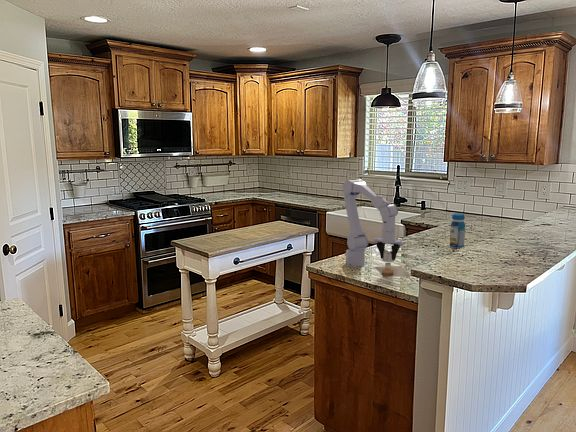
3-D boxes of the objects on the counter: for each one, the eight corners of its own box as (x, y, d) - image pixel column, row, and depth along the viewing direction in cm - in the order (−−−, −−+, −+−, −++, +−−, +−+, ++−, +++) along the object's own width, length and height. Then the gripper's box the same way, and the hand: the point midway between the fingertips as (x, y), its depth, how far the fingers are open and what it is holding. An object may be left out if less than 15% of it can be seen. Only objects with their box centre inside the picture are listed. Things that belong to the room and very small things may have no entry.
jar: (383, 274, 209) (383, 264, 208) (380, 271, 214) (381, 262, 213) (394, 274, 209) (395, 264, 208) (391, 271, 214) (391, 261, 214)
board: (383, 279, 206) (383, 276, 206) (374, 269, 223) (374, 266, 223) (411, 278, 207) (411, 275, 207) (400, 268, 224) (400, 265, 223)
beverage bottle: (464, 249, 259) (466, 215, 256) (449, 248, 262) (450, 215, 259) (464, 246, 267) (465, 213, 264) (449, 245, 270) (450, 212, 267)
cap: (384, 262, 208) (384, 252, 207) (381, 259, 213) (381, 249, 212) (395, 261, 209) (395, 251, 208) (391, 259, 213) (392, 249, 213)
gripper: (407, 230, 207) (406, 259, 209) (378, 227, 216) (377, 255, 218) (400, 233, 202) (400, 262, 204) (371, 229, 210) (371, 258, 212)
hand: (388, 258), depth 211 cm, fingers closed on cap, 5 cm apart
